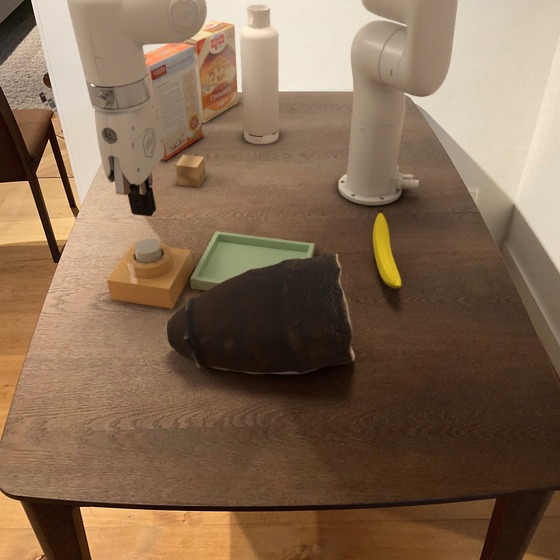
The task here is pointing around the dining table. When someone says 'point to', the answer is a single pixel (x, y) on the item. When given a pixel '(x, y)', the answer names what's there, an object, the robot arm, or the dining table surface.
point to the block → (190, 170)
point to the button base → (151, 278)
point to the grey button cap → (148, 251)
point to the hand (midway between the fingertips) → (144, 212)
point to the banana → (384, 252)
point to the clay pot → (268, 320)
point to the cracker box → (175, 95)
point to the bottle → (260, 76)
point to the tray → (243, 256)
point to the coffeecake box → (215, 68)
